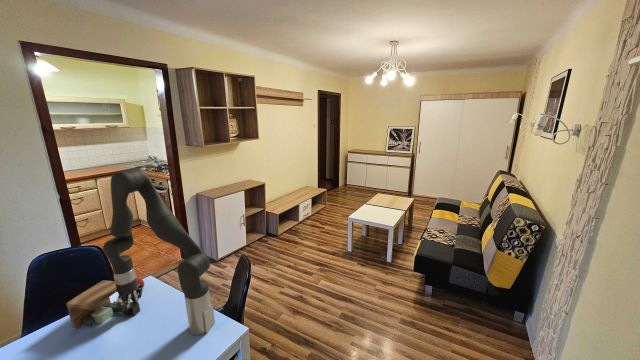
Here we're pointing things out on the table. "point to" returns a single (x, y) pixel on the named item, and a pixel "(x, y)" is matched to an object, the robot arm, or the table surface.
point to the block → (102, 315)
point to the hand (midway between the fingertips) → (132, 311)
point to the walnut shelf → (90, 301)
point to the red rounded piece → (140, 281)
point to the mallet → (133, 308)
